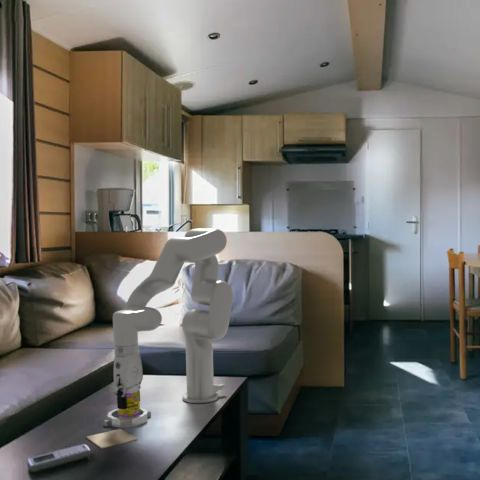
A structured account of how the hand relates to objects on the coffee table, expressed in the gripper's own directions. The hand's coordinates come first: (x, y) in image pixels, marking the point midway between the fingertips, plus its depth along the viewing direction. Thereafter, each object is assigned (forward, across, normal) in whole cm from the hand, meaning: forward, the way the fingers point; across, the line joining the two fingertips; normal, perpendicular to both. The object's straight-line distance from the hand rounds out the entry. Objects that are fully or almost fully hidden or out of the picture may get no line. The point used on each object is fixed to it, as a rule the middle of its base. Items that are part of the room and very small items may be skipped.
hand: (129, 404), depth 203 cm
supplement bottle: (+4, 0, 0) cm, 4 cm away
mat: (+5, -16, -5) cm, 18 cm away
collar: (+5, -1, 0) cm, 5 cm away
